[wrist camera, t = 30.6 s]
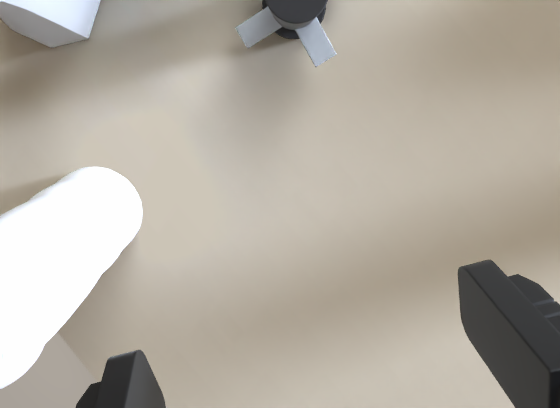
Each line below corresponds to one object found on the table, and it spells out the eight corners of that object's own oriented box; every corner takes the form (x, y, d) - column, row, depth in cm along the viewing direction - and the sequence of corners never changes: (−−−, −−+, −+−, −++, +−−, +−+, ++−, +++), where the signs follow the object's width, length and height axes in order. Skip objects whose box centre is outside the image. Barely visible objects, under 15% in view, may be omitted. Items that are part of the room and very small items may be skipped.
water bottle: (45, 174, 39) (-329, 375, 15) (129, 156, 39) (-123, 336, 15) (75, 254, 41) (-214, 540, 18) (155, 238, 41) (-30, 511, 17)
